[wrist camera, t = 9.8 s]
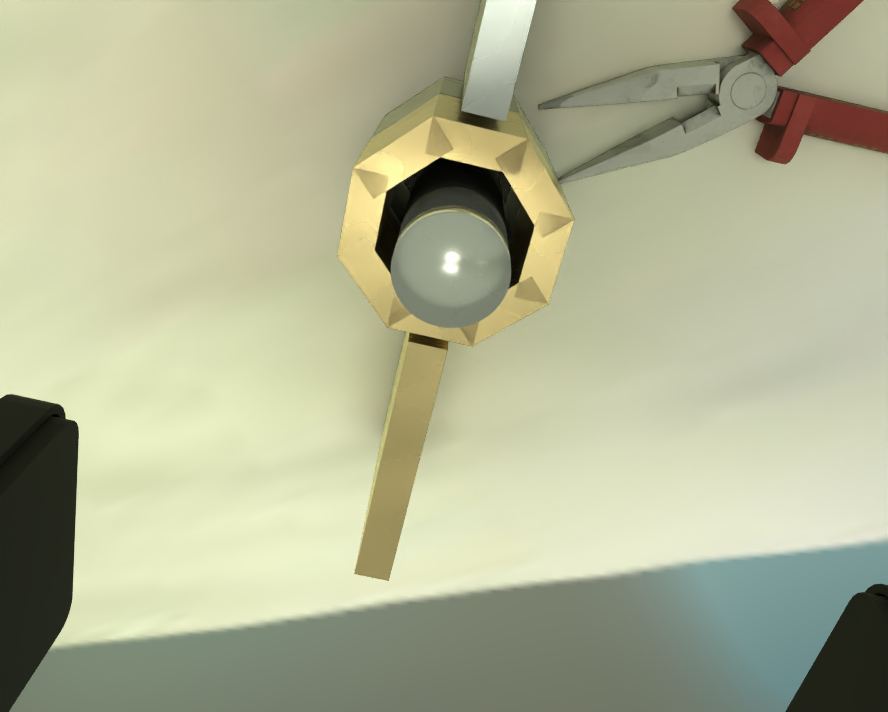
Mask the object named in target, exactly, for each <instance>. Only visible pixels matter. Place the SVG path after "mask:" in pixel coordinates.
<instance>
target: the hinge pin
mask: <svg viewBox="0 0 888 712" xmlns="http://www.w3.org/2000/svg"><path fill="white" fill-rule="evenodd" d="M391 280H392V284H393V288H394V290H395V293H396V295H397V297H398V298H399V300H400V302H401V303H402V304H403V306H404V307H405V308H406V309H407V310H408V311H409V312H410V313H411V314H413V315H414V316H415V317H417V318H418V319H420V320H422V321H424V322H426V323H428V324H431V325H434V326H438V327H444V328H459V327H465V326H469V325H472V324H475V323H477V322H479V321H481V320H483V319H484V318H486V317H488V316H489V315H490V314H491V313H492V312H494V311H495V310H496V308H497V307H498V306H499V305H500V304H501V302H502V301H503V299H504V297H505V295H506V293H507V291H508V288H509V285H510V280H511V262H510V254H509V246H508V238H507V230H506V222H505V215H504V207H503V199H502V191H501V183H500V176H499V171H496V170H492V169H487V168H483V167H479V166H475V165H471V164H466V163H462V162H458V161H454V160H450V159H445V158H441V157H440V158H438V159H437V160H435V161H434V162H432V163H430V164H429V165H427V166H426V167H424V168H422V169H421V170H419V171H418V172H417V173H416V176H415V180H414V183H413V187H412V190H411V194H410V197H409V201H408V204H407V208H406V211H405V215H404V218H403V222H402V225H401V229H400V232H399V236H398V239H397V243H396V246H395V249H394V253H393V256H392V261H391Z"/></svg>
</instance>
